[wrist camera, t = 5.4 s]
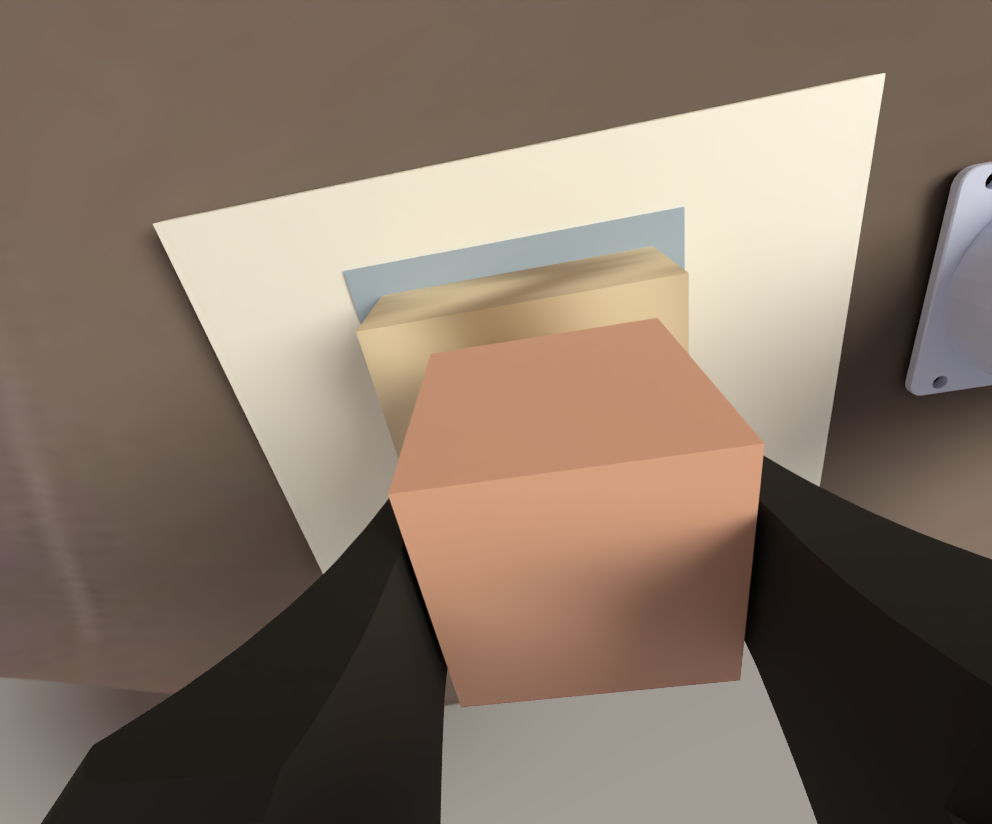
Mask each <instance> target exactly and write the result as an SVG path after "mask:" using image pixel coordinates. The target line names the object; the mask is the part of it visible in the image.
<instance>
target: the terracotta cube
mask: <svg viewBox="0 0 992 824" xmlns="http://www.w3.org/2000/svg"><path fill="white" fill-rule="evenodd" d="M764 446H765V443H764V442H763V441H762V440H761V439H760V437H759V436H758V435H757V434H756V433H755V432H754V430H753V429H752V428H751V427H750V426H749V424H748V423H747V422H746V421H745V420H744V419H743V417H742V416H741V415H740V414H739V413H738V412H737V410H736V409H735V408H734V407H733V406H732V405H731V403H730V402H729V401H728V400H727V399H726V398H725V396H724V395H723V394H722V393H721V392H720V390H719V389H718V388H717V387H716V386H715V385H714V383H713V382H712V381H711V380H710V379H709V378H708V376H707V375H706V374H705V373H704V372H703V371H702V369H701V368H700V367H699V366H698V365H697V364H696V362H695V361H694V360H693V359H692V358H691V356H690V355H689V354H688V353H687V352H686V351H685V349H684V348H683V347H682V346H681V345H680V344H679V342H678V341H677V340H676V339H675V338H674V337H673V335H672V334H671V333H670V332H669V331H668V330H667V328H666V327H665V326H664V325H663V324H662V322H661V321H660V320H659V319H658V318H653V319H647V320H641V321H634V322H628V323H622V324H615V325H609V326H603V327H596V328H590V329H584V330H577V331H571V332H565V333H558V334H552V335H546V336H539V337H533V338H527V339H521V340H514V341H508V342H502V343H495V344H489V345H483V346H476V347H470V348H464V349H457V350H451V351H445V352H438V353H432V354H430V358H429V361H428V364H427V368H426V371H425V374H424V377H423V381H422V384H421V387H420V391H419V394H418V397H417V401H416V404H415V407H414V410H413V414H412V417H411V420H410V424H409V427H408V430H407V433H406V437H405V440H404V443H403V447H402V450H401V453H400V456H399V460H398V463H397V466H396V470H395V473H394V476H393V479H392V483H391V486H390V489H389V493H388V496H389V499H390V502H391V505H392V508H393V510H394V513H395V516H396V519H397V522H398V525H399V528H400V531H401V534H402V537H403V540H404V542H405V545H406V548H407V551H408V554H409V557H410V560H411V563H412V566H413V569H414V571H415V574H416V577H417V580H418V583H419V586H420V589H421V592H422V595H423V598H424V600H425V603H426V606H427V609H428V612H429V615H430V618H431V621H432V624H433V627H434V630H435V632H436V635H437V638H438V641H439V644H440V647H441V650H442V653H443V656H444V659H445V661H446V664H447V667H448V670H449V673H450V676H451V679H452V682H453V685H454V688H455V691H456V693H457V696H458V699H459V702H460V705H461V707H468V706H479V705H489V704H500V703H510V702H520V701H530V700H541V699H551V698H561V697H572V696H582V695H593V694H603V693H613V692H624V691H634V690H644V689H655V688H664V687H674V686H685V685H696V684H706V683H716V682H727V681H737V680H740V675H741V665H742V656H743V647H744V637H745V628H746V618H747V609H748V599H749V589H750V580H751V570H752V561H753V551H754V541H755V532H756V522H757V513H758V503H759V493H760V484H761V474H762V465H763V455H764Z"/></svg>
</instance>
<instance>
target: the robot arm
mask: <svg viewBox="0 0 992 824" xmlns="http://www.w3.org/2000/svg"><path fill="white" fill-rule="evenodd" d="M991 173H992V161H991V162H986V163H980V164H975V165H971V166H968V167H966V168H964V169H963V170H962V171H960V172H959V173H958V174H957V176H956V177H955V178H954V180H953V182H952V185H951V188H950V193H949V197H948V201H947V206H946V210H945V214H944V218H943V223H942V227H941V231H940V236H939V240H938V244H937V249H936V253H935V257H934V261H933V266H932V270H931V274H930V279H929V283H928V287H927V292H926V296H925V300H924V304H923V309H922V313H921V317H920V322H919V326H918V330H917V334H916V339H915V343H914V347H913V352H912V356H911V360H910V365H909V369H908V373H907V377H906V382H905V387H906V389H907V390H908V391H910V392H911V393H913V394H915V395H929V394H935V393H942V392H949V391H955V390H962V389H969V388H976V387H982V386H989V385H992V180H991V182H990V183H989V184H988V185H987V186H986V187H985V182H986V180H987V178H988V176H989V175H990V174H991ZM938 377H939V379H938V380H937V381H936V382H935V383H933V382H934V380H935V379H936V378H938ZM744 641H745V643H746V644H747V647H748V649H749V651H750V653H751V655H752V657H753V659H754V661H755V664H756V666H757V668H758V671H759V673H760V675H761V678H762V680H763V683H764V685H765V688H766V690H767V693H768V695H769V697H770V700H771V703H772V705H773V707H774V710H775V712H776V715H777V717H778V720H779V722H780V725H781V727H782V730H783V733H784V735H785V738H786V740H787V743H788V746H789V748H790V751H791V753H792V756H793V759H794V761H795V764H796V766H797V769H798V771H799V774H800V777H801V779H802V782H803V785H804V788H805V790H806V793H807V796H808V798H809V801H810V804H811V807H812V809H813V812H814V815H815V818H816V820H817V823H818V824H992V560H991V559H989V558H986V557H983V556H980V555H978V554H975V553H972V552H969V551H967V550H964V549H961V548H958V547H955V546H953V545H950V544H947V543H944V542H942V541H939V540H936V539H934V538H931V537H929V536H926V535H924V534H921V533H919V532H916V531H914V530H911V529H909V528H907V527H904V526H902V525H900V524H897V523H895V522H893V521H890V520H888V519H886V518H883V517H881V516H879V515H876V514H874V513H872V512H870V511H867V510H865V509H863V508H861V507H859V506H857V505H855V504H852V503H850V502H848V501H846V500H844V499H842V498H840V497H838V496H836V495H835V494H833V493H831V492H829V491H827V490H825V489H823V488H821V487H819V486H817V485H815V484H813V483H811V482H809V481H808V480H806V479H804V478H802V477H800V476H798V475H797V474H795V473H793V472H791V471H790V470H788V469H786V468H784V467H783V466H781V465H779V464H777V463H776V462H774V461H772V460H771V459H769V458H767V457H766V456H764V455H763V465H762V474H761V484H760V493H759V503H758V513H757V522H756V532H755V541H754V551H753V561H752V570H751V580H750V589H749V599H748V609H747V618H746V628H745V637H744ZM447 668H448V667H447V664H446V661H445V659H444V656H443V653H442V650H441V647H440V644H439V641H438V638H437V635H436V632H435V630H434V627H433V624H432V621H431V618H430V615H429V612H428V609H427V606H426V603H425V600H424V598H423V595H422V592H421V589H420V586H419V583H418V580H417V577H416V574H415V571H414V569H413V566H412V563H411V560H410V557H409V554H408V551H407V548H406V545H405V542H404V540H403V537H402V534H401V531H400V528H399V525H398V522H397V519H396V516H395V513H394V510H393V508H392V505H391V502H390V499H388V500H387V501H386V502H385V504H384V505H383V506H382V508H381V509H380V510H379V511H378V513H377V514H376V515H375V516H374V518H373V519H372V520H371V521H370V523H369V524H368V525H367V526H366V528H365V529H364V530H363V531H362V532H361V533H360V534H359V536H358V537H357V538H356V539H355V540H354V541H353V542H352V543H351V545H350V546H349V547H348V548H347V549H346V550H345V551H344V553H343V554H342V555H341V556H340V557H339V558H338V559H337V560H336V561H335V563H334V564H333V565H332V566H331V567H330V568H329V569H328V570H327V571H326V572H325V573H324V574H323V575H322V576H321V577H320V578H319V579H318V580H317V581H316V582H315V583H314V584H313V585H312V586H310V587H309V588H308V589H307V590H306V591H305V592H304V593H303V594H302V595H301V596H300V597H299V598H298V599H297V600H296V601H294V602H293V603H292V604H291V605H290V606H289V607H288V608H286V609H285V610H284V611H283V612H282V613H280V614H279V615H278V616H277V617H276V618H274V619H273V620H272V621H271V622H270V623H268V624H267V625H266V626H265V627H264V628H262V629H261V630H260V631H259V632H258V633H256V634H255V635H254V636H253V637H252V638H250V639H249V640H248V641H247V642H245V643H244V644H243V645H242V646H240V647H239V648H238V649H236V650H235V651H234V652H232V653H231V654H230V655H228V656H227V657H226V658H224V659H223V660H222V661H220V662H219V663H218V664H216V665H215V666H214V667H212V668H211V669H209V670H208V671H207V672H205V673H204V674H202V675H201V676H199V677H198V678H197V679H195V680H194V681H192V682H191V683H190V684H188V685H187V686H185V687H184V688H182V689H181V690H179V691H178V692H176V693H175V694H173V695H172V696H170V697H169V698H167V699H166V700H164V701H163V702H161V703H160V704H158V705H157V706H155V707H153V708H152V709H151V710H149V711H147V712H145V713H144V714H142V715H141V716H139V717H138V718H136V719H135V720H133V721H131V722H130V723H128V724H127V725H125V726H123V727H122V728H121V729H119V730H117V731H116V732H114V733H112V734H111V735H109V736H108V737H106V738H104V739H103V740H101V741H99V742H98V743H96V744H94V745H93V746H92V748H91V749H90V750H89V752H88V753H87V755H86V756H85V758H84V759H83V761H82V762H81V764H80V766H79V767H78V768H77V770H76V771H75V773H74V774H73V776H72V778H71V779H70V781H69V782H68V784H67V785H66V787H65V788H64V790H63V791H62V793H61V794H60V796H59V797H58V799H57V800H56V802H55V804H54V805H53V806H52V808H51V809H50V811H49V812H48V814H47V815H46V817H45V818H44V820H43V822H42V823H41V824H440V817H441V815H440V814H441V813H440V812H441V776H442V742H443V719H444V696H445V686H446V675H447Z"/></svg>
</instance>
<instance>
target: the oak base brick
mask: <svg viewBox="0 0 992 824" xmlns="http://www.w3.org/2000/svg"><path fill="white" fill-rule="evenodd" d="M653 318H658V319H659V320H660V321H661V322H662V324H663V325H664V326H665V327H666V328H667V330H668V331H669V332H670V333H671V334H672V335H673V337H674V338H675V339H676V340H677V341H678V342H679V344H680V345H681V346H682V347H683V348H684V349H685V351H686V352H687V353H688V354H689V273H688V272H687V271H685V270H684V269H683V268H681V267H680V266H679V265H677V264H676V263H675V262H673V261H672V260H671V259H669V258H668V257H667V256H665V255H664V254H663V253H661V252H660V251H659V250H657V249H656V248H655V247H653V246H650V247H645V248H639V249H634V250H629V251H623V252H618V253H612V254H607V255H601V256H596V257H590V258H585V259H579V260H574V261H568V262H563V263H558V264H552V265H547V266H541V267H536V268H530V269H525V270H519V271H514V272H508V273H503V274H498V275H492V276H487V277H481V278H476V279H470V280H465V281H459V282H454V283H448V284H443V285H437V286H432V287H427V288H421V289H416V290H410V291H405V292H399V293H394V294H388V295H383V296H381V297H380V299H379V300H378V302H377V303H376V304H375V306H374V307H373V309H372V310H371V311H370V313H369V314H368V316H367V317H366V319H365V320H364V321H363V323H362V324H361V326H360V327H359V328H358V330H357V331H356V334H357V337H358V340H359V342H360V345H361V348H362V351H363V354H364V357H365V360H366V363H367V366H368V369H369V372H370V375H371V378H372V381H373V384H374V387H375V390H376V393H377V396H378V399H379V402H380V405H381V408H382V411H383V414H384V417H385V420H386V423H387V426H388V429H389V432H390V435H391V438H392V441H393V444H394V447H395V450H396V453H397V456H398V459H399V456H400V453H401V450H402V447H403V443H404V440H405V437H406V433H407V430H408V427H409V424H410V420H411V417H412V414H413V410H414V407H415V404H416V401H417V397H418V394H419V391H420V387H421V384H422V381H423V377H424V374H425V371H426V368H427V364H428V361H429V358H430V354H432V353H438V352H445V351H451V350H457V349H464V348H470V347H476V346H483V345H489V344H495V343H502V342H508V341H514V340H521V339H527V338H533V337H539V336H546V335H552V334H558V333H565V332H571V331H577V330H584V329H590V328H596V327H603V326H609V325H615V324H622V323H628V322H634V321H641V320H647V319H653Z"/></svg>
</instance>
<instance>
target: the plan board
mask: <svg viewBox="0 0 992 824" xmlns="http://www.w3.org/2000/svg"><path fill="white" fill-rule="evenodd" d="M884 80H885V73H883V74H876V75H869V76H863V77H858V78H854V79H849V80H844V81H839V82H834V83H829V84H824V85H820V86H815V87H810V88H805V89H800V90H795V91H790V92H786V93H781V94H776V95H771V96H766V97H761V98H756V99H752V100H747V101H742V102H737V103H732V104H727V105H722V106H718V107H713V108H708V109H703V110H698V111H693V112H688V113H684V114H679V115H674V116H669V117H664V118H659V119H654V120H650V121H645V122H640V123H635V124H630V125H625V126H620V127H616V128H611V129H606V130H601V131H596V132H591V133H586V134H582V135H577V136H572V137H567V138H562V139H557V140H552V141H548V142H543V143H538V144H533V145H528V146H523V147H518V148H514V149H509V150H504V151H499V152H494V153H489V154H484V155H480V156H475V157H470V158H465V159H460V160H455V161H450V162H446V163H441V164H436V165H431V166H426V167H421V168H416V169H412V170H407V171H402V172H397V173H392V174H387V175H382V176H378V177H373V178H368V179H363V180H358V181H353V182H348V183H344V184H339V185H334V186H329V187H324V188H319V189H314V190H310V191H305V192H300V193H295V194H290V195H285V196H280V197H276V198H271V199H266V200H261V201H256V202H251V203H246V204H242V205H237V206H232V207H227V208H222V209H217V210H212V211H208V212H203V213H198V214H193V215H188V216H183V217H178V218H174V219H169V220H165V221H161V222H158V223H154V224H153V225H154V228H155V230H156V232H157V234H158V236H159V238H160V240H161V242H162V244H163V246H164V248H165V250H166V252H167V254H168V256H169V258H170V260H171V262H172V265H173V267H174V269H175V271H176V273H177V275H178V277H179V279H180V281H181V283H182V285H183V287H184V289H185V291H186V293H187V295H188V297H189V299H190V302H191V304H192V306H193V308H194V310H195V312H196V314H197V316H198V318H199V320H200V322H201V324H202V326H203V328H204V330H205V332H206V334H207V336H208V339H209V341H210V343H211V345H212V347H213V349H214V351H215V353H216V355H217V357H218V359H219V361H220V363H221V365H222V367H223V369H224V371H225V373H226V376H227V378H228V380H229V382H230V384H231V386H232V388H233V390H234V392H235V394H236V396H237V398H238V400H239V402H240V404H241V406H242V408H243V410H244V413H245V415H246V417H247V419H248V421H249V423H250V425H251V427H252V429H253V431H254V433H255V435H256V437H257V439H258V441H259V443H260V445H261V447H262V450H263V452H264V454H265V456H266V458H267V460H268V462H269V464H270V466H271V468H272V470H273V472H274V474H275V476H276V478H277V480H278V482H279V484H280V487H281V489H282V491H283V493H284V495H285V497H286V499H287V501H288V503H289V505H290V507H291V509H292V511H293V513H294V515H295V517H296V519H297V521H298V524H299V526H300V528H301V530H302V532H303V534H304V536H305V538H306V540H307V542H308V544H309V546H310V548H311V550H312V552H313V554H314V556H315V558H316V561H317V563H318V565H319V567H320V569H321V571H322V573H323V574H324V573H325V572H326V571H327V570H328V569H329V568H330V567H331V566H332V565H333V564H334V563H335V561H336V560H337V559H338V558H339V557H340V556H341V555H342V554H343V553H344V551H345V550H346V549H347V548H348V547H349V546H350V545H351V543H352V542H353V541H354V540H355V539H356V538H357V537H358V536H359V534H360V533H361V532H362V531H363V530H364V529H365V528H366V526H367V525H368V524H369V523H370V521H371V520H372V519H373V518H374V516H375V515H376V514H377V513H378V511H379V510H380V509H381V508H382V506H383V505H384V504H385V502H386V501H387V500H388V499H389V496H388V493H389V489H390V486H391V483H392V479H393V476H394V473H395V470H396V466H397V463H398V460H399V459H398V456H397V453H396V450H395V447H394V444H393V441H392V438H391V435H390V432H389V429H388V426H387V423H386V420H385V417H384V414H383V411H382V408H381V405H380V402H379V399H378V396H377V393H376V390H375V387H374V384H373V381H372V378H371V375H370V372H369V369H368V366H367V363H366V360H365V357H364V354H363V351H362V348H361V345H360V342H359V340H358V337H357V334H356V331H357V330H358V328H359V327H360V326H361V324H362V323H363V321H364V320H365V319H366V317H367V316H368V314H369V313H370V311H371V310H372V309H373V307H374V306H375V304H376V303H377V302H378V300H379V299H380V297H381V296H383V295H388V294H394V293H399V292H405V291H410V290H416V289H421V288H427V287H432V286H437V285H443V284H448V283H454V282H459V281H465V280H470V279H476V278H481V277H487V276H492V275H498V274H503V273H508V272H514V271H519V270H525V269H530V268H536V267H541V266H547V265H552V264H558V263H563V262H568V261H574V260H579V259H585V258H590V257H596V256H601V255H607V254H612V253H618V252H623V251H629V250H634V249H639V248H645V247H650V246H653V247H655V248H656V249H657V250H659V251H660V252H661V253H663V254H664V255H665V256H667V257H668V258H669V259H671V260H672V261H673V262H675V263H676V264H677V265H679V266H680V267H681V268H683V269H684V270H685V271H687V272H688V273H689V355H690V356H691V358H692V359H693V360H694V361H695V362H696V364H697V365H698V366H699V367H700V368H701V369H702V371H703V372H704V373H705V374H706V375H707V376H708V378H709V379H710V380H711V381H712V382H713V383H714V385H715V386H716V387H717V388H718V389H719V390H720V392H721V393H722V394H723V395H724V396H725V398H726V399H727V400H728V401H729V402H730V403H731V405H732V406H733V407H734V408H735V409H736V410H737V412H738V413H739V414H740V415H741V416H742V417H743V419H744V420H745V421H746V422H747V423H748V424H749V426H750V427H751V428H752V429H753V430H754V432H755V433H756V434H757V435H758V436H759V437H760V439H761V440H762V441H763V442H764V443H765V446H764V456H766V457H767V458H769V459H771V460H772V461H774V462H776V463H777V464H779V465H781V466H783V467H784V468H786V469H788V470H790V471H791V472H793V473H795V474H797V475H798V476H800V477H802V478H804V479H806V480H808V481H809V482H811V483H813V484H815V485H817V486H819V487H820V482H821V475H822V469H823V463H824V456H825V450H826V444H827V438H828V431H829V425H830V419H831V413H832V406H833V400H834V394H835V387H836V381H837V375H838V369H839V362H840V356H841V350H842V343H843V337H844V331H845V325H846V318H847V312H848V306H849V299H850V293H851V287H852V281H853V274H854V268H855V262H856V256H857V249H858V243H859V237H860V230H861V224H862V218H863V212H864V205H865V199H866V193H867V186H868V180H869V174H870V168H871V161H872V155H873V149H874V142H875V136H876V130H877V124H878V117H879V111H880V105H881V99H882V92H883V86H884Z"/></svg>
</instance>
